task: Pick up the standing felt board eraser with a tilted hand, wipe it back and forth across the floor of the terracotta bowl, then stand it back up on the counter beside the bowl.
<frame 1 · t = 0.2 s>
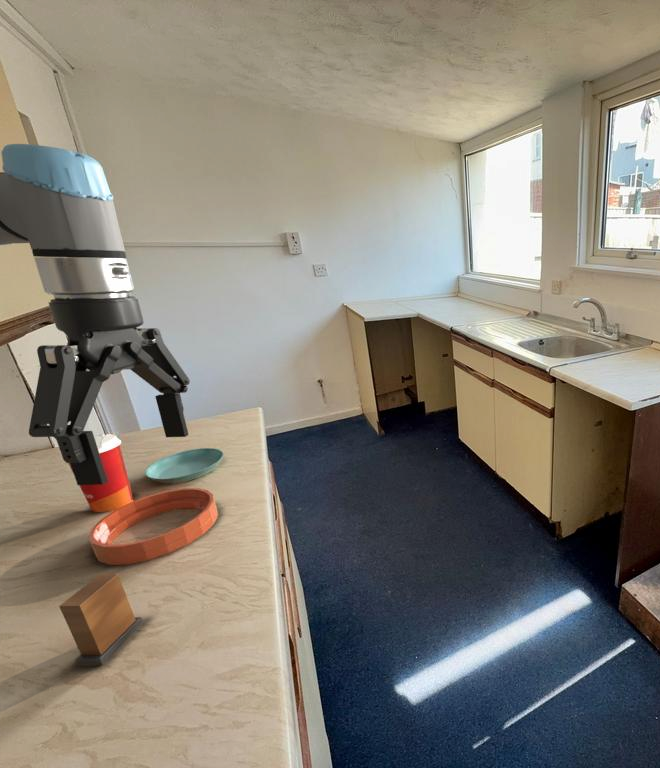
hand: (140, 457, 53), 24 cm above the counter, tool pointing down, fingers open, 13 cm apart
eraser: (114, 648, 52), on the counter
coffee cup: (114, 507, 82), on the counter
saucer: (188, 472, 96), on the counter
bowl: (162, 534, 74), on the counter
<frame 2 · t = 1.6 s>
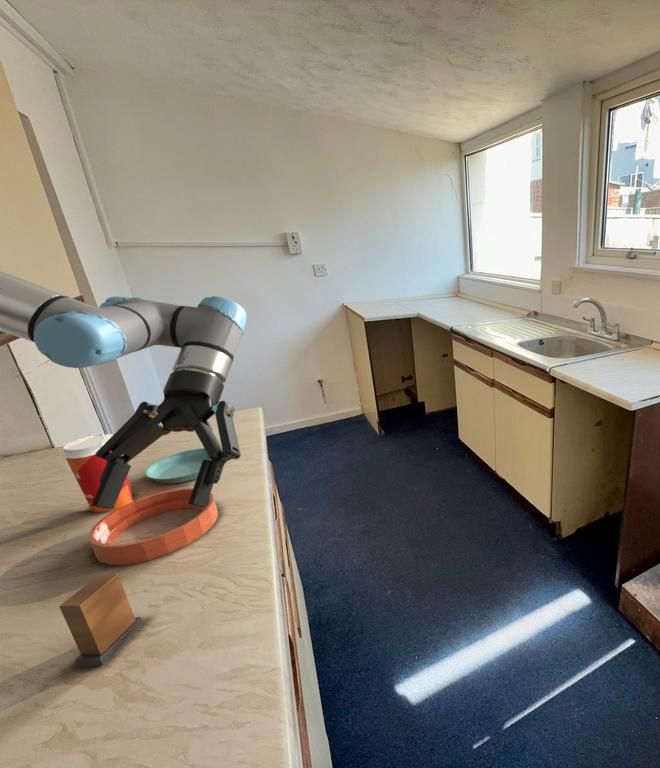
hand: (149, 506, 58), 15 cm above the counter, tool tilted 45°, fingers open, 13 cm apart
nothing on the counter moved.
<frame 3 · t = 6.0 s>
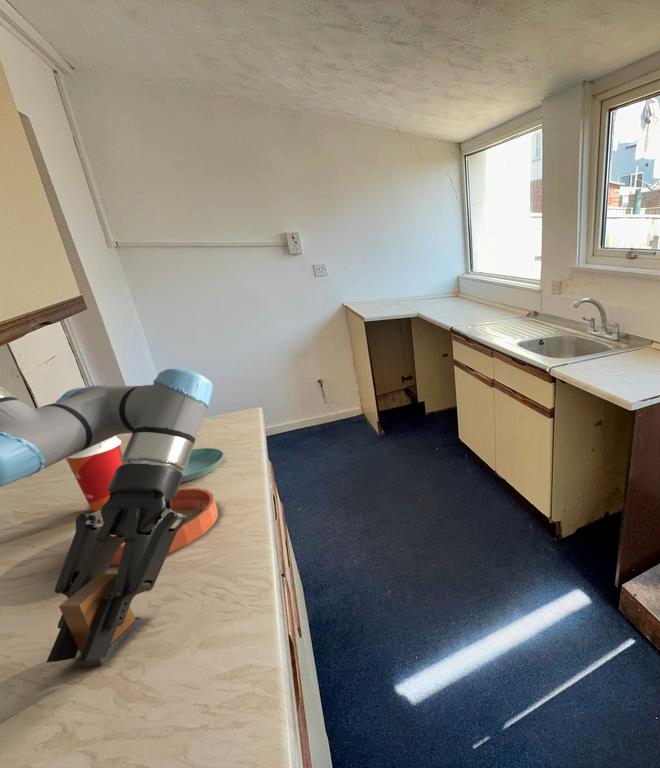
hand: (77, 659, 48), 3 cm above the counter, tool tilted 45°, fingers closed on eraser, 3 cm apart
eraser: (114, 648, 52), on the counter, touching gripper
everything else where it was.
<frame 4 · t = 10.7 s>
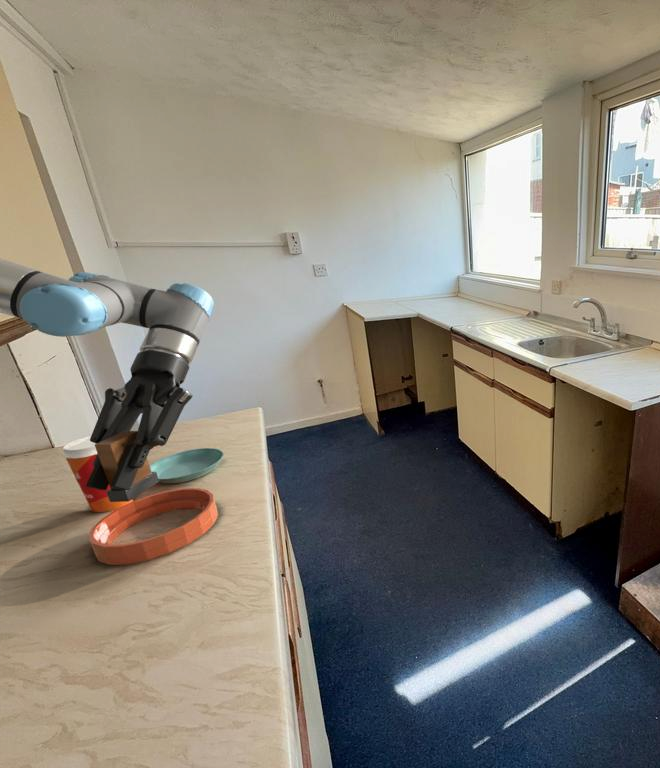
hand: (108, 487, 62), 15 cm above the counter, tool tilted 45°, fingers closed on eraser, 3 cm apart
eraser: (135, 491, 66), point 12 cm above the counter, touching gripper
everything else where it was.
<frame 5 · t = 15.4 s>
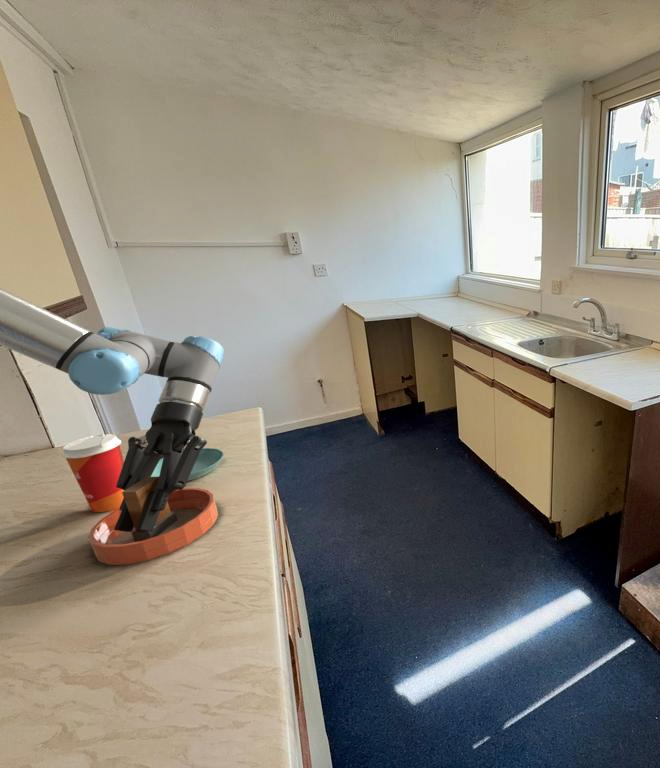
hand: (133, 530, 69), 4 cm above the counter, tool tilted 45°, fingers closed on eraser, 3 cm apart
eraser: (157, 530, 74), point 1 cm above the counter, touching gripper
everything else where it was.
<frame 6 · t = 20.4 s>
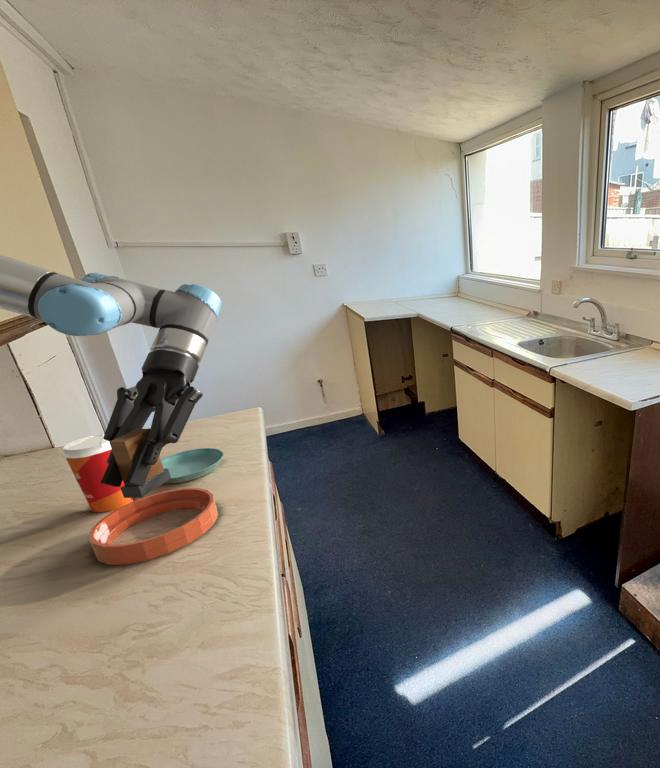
hand: (122, 484, 63), 15 cm above the counter, tool tilted 45°, fingers closed on eraser, 3 cm apart
eraser: (148, 487, 68), point 12 cm above the counter, touching gripper
everything else where it was.
when the fingers open (3 cm above the counter, at t = 25.3 s): eraser stays where it is, on the counter.
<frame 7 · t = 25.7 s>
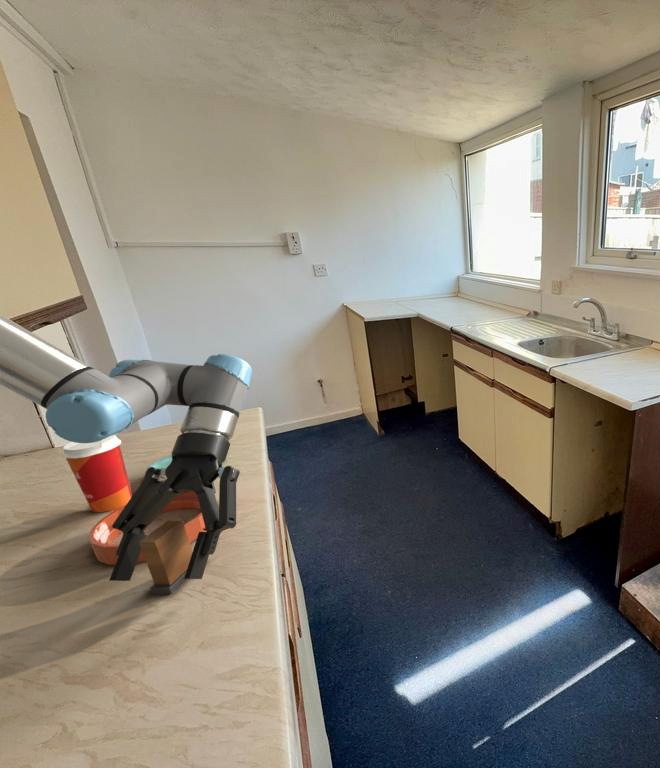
hand: (156, 579, 59), 4 cm above the counter, tool tilted 45°, fingers open, 10 cm apart
eraser: (179, 582, 63), on the counter
everything else where it was.
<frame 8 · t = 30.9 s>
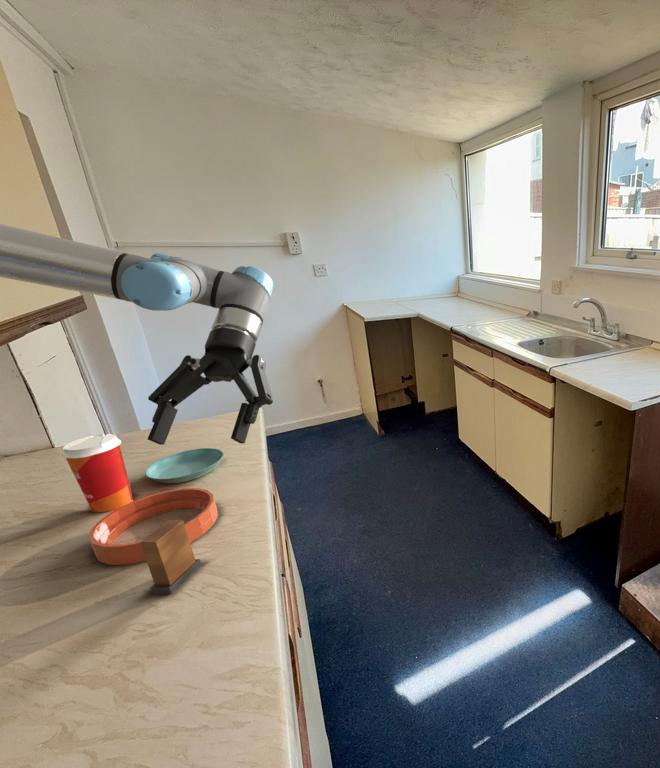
hand: (196, 441, 67), 20 cm above the counter, tool tilted 45°, fingers open, 13 cm apart
nothing on the counter moved.
at the end: eraser inside the target area on the counter beside the bowl (0.1 cm from its centre), on the counter; eraser tilted 0°; the gripper is holding nothing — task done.
